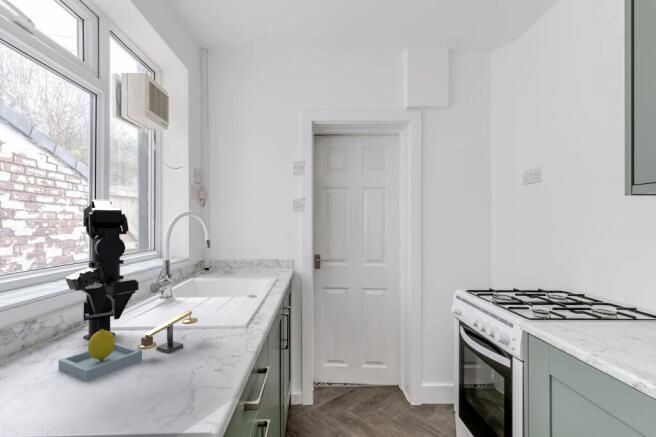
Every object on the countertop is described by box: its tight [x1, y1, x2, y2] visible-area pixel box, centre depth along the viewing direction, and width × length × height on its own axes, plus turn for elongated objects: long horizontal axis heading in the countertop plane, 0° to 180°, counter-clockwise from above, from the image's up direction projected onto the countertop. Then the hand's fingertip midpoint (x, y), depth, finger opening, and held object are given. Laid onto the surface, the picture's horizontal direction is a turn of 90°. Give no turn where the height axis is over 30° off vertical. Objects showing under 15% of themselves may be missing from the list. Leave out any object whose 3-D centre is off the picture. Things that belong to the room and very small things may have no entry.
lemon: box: [87, 329, 116, 361], centre depth 83 cm, size 6×6×8 cm
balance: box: [137, 310, 199, 354], centre depth 93 cm, size 5×18×9 cm, turn 152°
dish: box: [57, 342, 143, 383], centre depth 83 cm, size 13×13×2 cm
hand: (106, 316), depth 84 cm, fingers open, 9 cm apart
